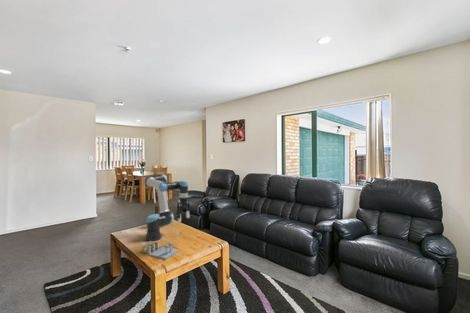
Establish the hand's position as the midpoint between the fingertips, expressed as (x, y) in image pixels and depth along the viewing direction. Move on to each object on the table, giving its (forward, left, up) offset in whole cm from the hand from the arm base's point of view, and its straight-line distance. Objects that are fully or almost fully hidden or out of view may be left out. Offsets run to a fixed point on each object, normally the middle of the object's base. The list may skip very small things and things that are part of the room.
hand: (183, 219), depth 213 cm
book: (-57, +35, -23) cm, 71 cm away
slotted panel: (-18, -23, -23) cm, 37 cm away
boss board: (-3, -23, -23) cm, 33 cm away
